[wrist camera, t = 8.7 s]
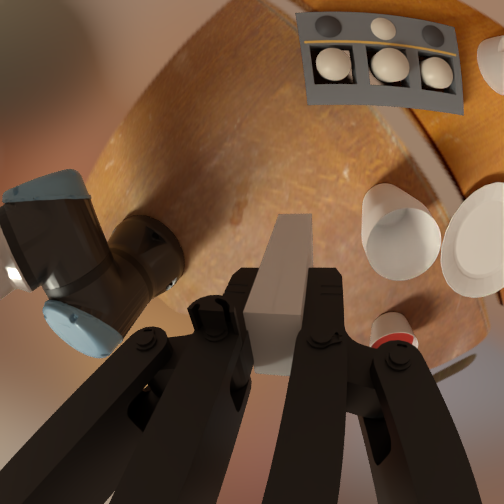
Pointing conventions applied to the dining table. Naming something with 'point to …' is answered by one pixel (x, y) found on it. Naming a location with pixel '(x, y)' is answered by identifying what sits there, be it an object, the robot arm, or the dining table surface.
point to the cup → (398, 233)
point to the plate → (476, 244)
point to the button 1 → (333, 64)
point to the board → (375, 39)
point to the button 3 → (435, 73)
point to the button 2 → (389, 65)
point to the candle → (391, 330)
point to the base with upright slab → (492, 62)
